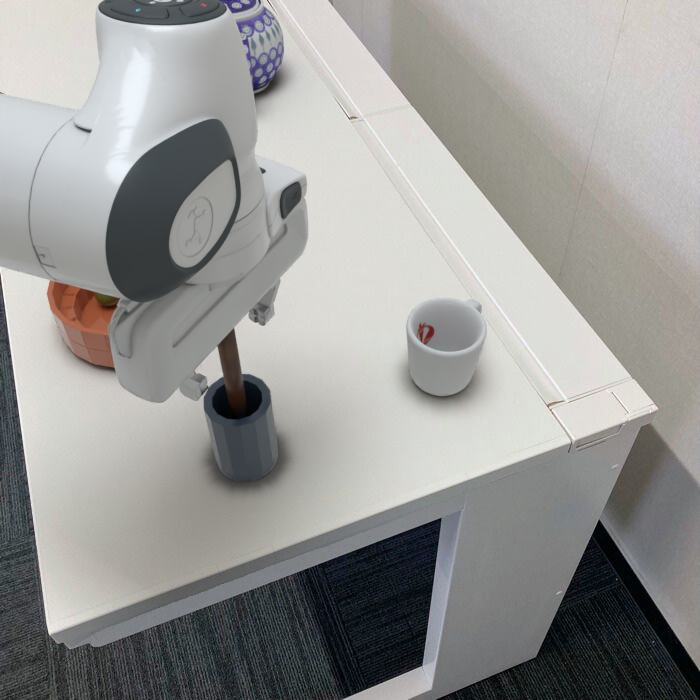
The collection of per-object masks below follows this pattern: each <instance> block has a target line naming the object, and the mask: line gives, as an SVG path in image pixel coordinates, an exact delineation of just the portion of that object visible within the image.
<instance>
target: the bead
mask: <svg viewBox="0 0 700 700" xmlns="http://www.w3.org/2000/svg"><path fill="white" fill-rule="evenodd" d="M94 295H95V298H96V300H97V301H98V302H99V303H100V304H101V305H104V306H113V305H115V304H117V303H118V302H119V300H120V299H121V298H117V297H113V296H109V295H105V294H101V293H97V292H94Z"/></svg>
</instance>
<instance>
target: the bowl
mask: <svg viewBox="0 0 700 700" xmlns="http://www.w3.org/2000/svg"><path fill="white" fill-rule="evenodd" d="M46 297H47V302H48V304H49V310H50V311H51V314H52V317H53V318H54V321H55V323H56V326H57V329H58V330H59V333H60V336H61V338H62V340H63V343H64V344H65V345H66V346H67V347H68V349H70V351H71V352H72V353H73V354H74V355H75V356H77V357H79V358H80V359H83V360H84V361H86V362H89V364H90V363H91V364H92V365H96V366H102V367H109V368H114V369H115V367H114V363H113V358H112V352H111V346H110V338H109V335H108V325H109V324H110V321H111V318H112V315H113V313H114V311H115V310H116V308H117V307H118V306H117V304H118V303H117V304H115V305H113V306H104V305H101V304H100V303H99V302H98V301H97V300H96V298H95V295H94V291H90V290H86V289H83V288H79V287H75V286H71V285H68V284H62V283H58V282H55V281H51V280H49V281H48V286H47V290H46Z"/></svg>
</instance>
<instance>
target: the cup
mask: <svg viewBox="0 0 700 700" xmlns="http://www.w3.org/2000/svg"><path fill="white" fill-rule="evenodd" d="M482 311H483V306H482V304H481V302H480V301H478V300H476V299H472V298H471V299H468V300H466V301H464V300H461V299H458V298H451V297H436V298H431V299H427V300H425V301H423V302H421V303H419V304H417V305H415V307H414V308H413V309H412V310H411V311H410V313H409V314H408V316H407V319H406V324H405V330H406V345H407V360H408V370H409V373H410V374H409V375H410V377H411V379H412V381H413V382H414V384H415V386H417V387H418V388H419V389H420V390H421V391H424V393H427V394H429V395H432V396H438V397H446V396H453V395H456V394H458V393H460V392H461V391H463V390H464V389H465V388H466V387H467V386H468V385H469V383H470V382H471V380H472V378H473V376H474V374H475V370H476V368H477V365H478V361H479V358H480V357H481V353H482V350H483V347H484V344H485V342H486V338H487V335H488V328H487V327H488V326H487V322H486V319H485V318H484V316H483V315H482Z"/></svg>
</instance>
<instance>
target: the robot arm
mask: <svg viewBox="0 0 700 700" xmlns="http://www.w3.org/2000/svg"><path fill="white" fill-rule="evenodd" d="M94 19H95V20H94V21H95V36H96V48H97V55H98V60H99V61H98V62H99V65H98V70H97V72H96V76H95V80H94V82H93V85H92V88H91V90H90V93H89V95H88V96H87V98H86V101H85V102H84V104H83V105H82V107H81V108H80V109H76V108H73V107H68V106H63V105H58V104H52V103H49V102H44V101H39V100H34V99H30V98H25V97H20V96H16V95H10V94H6V93H4V92H1V91H0V268H4V269H8V270H11V271H14V272H18V273H22V274H25V275H30V276H33V277H37V278H41V279H43V280H48V281H50V280H51V281H55V282H58V283H62V284H68V285H71V286H75V287H79V288H83V289H86V290H90V291H94V292H97V293H101V294H105V295H109V296H113V297H117V298H121V299H120V300H119V302H118V304H117V306H118V307H117V308H116V310H115V311H114V313H113V315H112V318H111V321H110V324H109V325H108V335H109V338H110V346H111V352H112V358H113V363H114V367H115V368H114V371H115V375H116V378H117V381H118V383H119V386H120V387H122V388H123V389H124V390H125V391H126V392H128V393H130V394H132V395H133V396H135V397H137V398H139V399H141V400H144V401H146V402H149V403H153V404H155V403H156V404H163V403H164V402H166V401H167V400H168V399H170V397H172V395H173V394H174V393H175V392H176V391H177V390H178V389H179V393H181V395H183V396H184V397H186V398H188V399H190V400H192V401H194V402H198V401H199V400H200V399H201V397H202V396H204V395H205V394H206V392H207V390H208V388H209V387H210V386H209V385H208V378H207V376H206V375H204V374H202V373H200V372H199V373H197V372H196V369H197V368H198V367H199V366H200V365H201V364H202V363H203V362H204V360H206V359H207V357H208V356H209V355H211V353H212V352H213V351H214V350H215V349H216V348H218V347H217V345H218V344H219V343H220V342H221V341H222V340H223V339H224V338H225V337H226V336H227V335H228V334H229V333H230V331H231V330H232V329H233V328H234V329H235V327H236V326H237V325H238V324H240V322H241V321H242V320H243V319H244V318H245V317H246V316H247V315H248V319H249V320H250V321H251V322H252V323H255V324H256V323H257V324H259V326H261V327H265V326H266V325H267V324H268V323H269V321H271V319H273V317H274V316H275V314H276V313H275V304H274V302H275V301H276V298H277V295H278V291H279V288H280V285H281V278H282V277H283V276H284V275H285V274H286V273H287V272H288V270H290V268H291V267H292V266H293V265H294V264H295V263H296V262H297V261H298V260H299V259H300V258H301V256H302V255H303V254H304V252H305V249H306V247H307V244H308V240H309V214H308V213H309V212H308V203H307V201H306V198H305V197H306V195H307V191H308V178H307V175H306V174H305V173H304V172H301V171H300V170H298V169H295V168H293V167H290V166H288V165H285V164H283V163H280V162H278V161H276V160H273V159H270V158H266V157H263V156H260V155H256V147H257V142H258V135H259V125H258V118H257V107H256V103H255V102H256V101H255V94H254V93H253V87H252V81H251V76H250V71H249V66H248V61H247V57H246V53H245V49H244V45H243V42H242V38H241V35H240V32H239V29H238V26H237V24H236V21H235V19H234V17H233V15H232V13H231V11H230V9H229V8H228V7H227V6H226V5H225V4H224V3H223V2H221V1H219V0H102V1H100V2H99V3H98V5H97V7H96V9H95V17H94Z"/></svg>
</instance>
